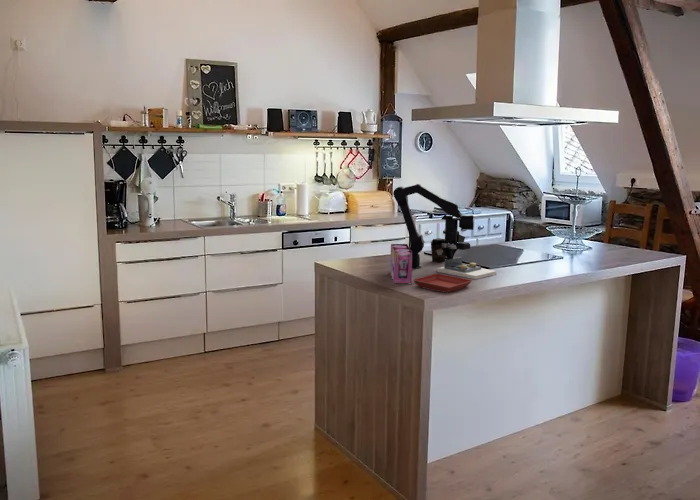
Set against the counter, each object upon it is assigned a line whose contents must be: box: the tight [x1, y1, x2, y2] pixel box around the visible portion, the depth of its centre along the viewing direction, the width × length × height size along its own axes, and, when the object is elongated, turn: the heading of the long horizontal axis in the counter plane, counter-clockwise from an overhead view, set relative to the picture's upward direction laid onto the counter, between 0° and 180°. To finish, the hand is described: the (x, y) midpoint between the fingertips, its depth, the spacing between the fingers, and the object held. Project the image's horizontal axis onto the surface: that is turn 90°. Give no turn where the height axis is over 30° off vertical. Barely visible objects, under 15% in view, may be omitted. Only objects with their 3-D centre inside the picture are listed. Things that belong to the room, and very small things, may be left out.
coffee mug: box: [430, 240, 447, 264], centre depth 314 cm, size 12×9×10 cm
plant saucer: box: [412, 273, 473, 293], centre depth 262 cm, size 18×18×3 cm
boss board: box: [436, 262, 497, 280], centre depth 289 cm, size 16×22×4 cm
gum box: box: [389, 243, 413, 284], centre depth 276 cm, size 24×8×14 cm, turn 0°
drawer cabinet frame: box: [443, 256, 482, 273], centre depth 291 cm, size 12×12×4 cm
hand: (450, 261), depth 296 cm, fingers closed
